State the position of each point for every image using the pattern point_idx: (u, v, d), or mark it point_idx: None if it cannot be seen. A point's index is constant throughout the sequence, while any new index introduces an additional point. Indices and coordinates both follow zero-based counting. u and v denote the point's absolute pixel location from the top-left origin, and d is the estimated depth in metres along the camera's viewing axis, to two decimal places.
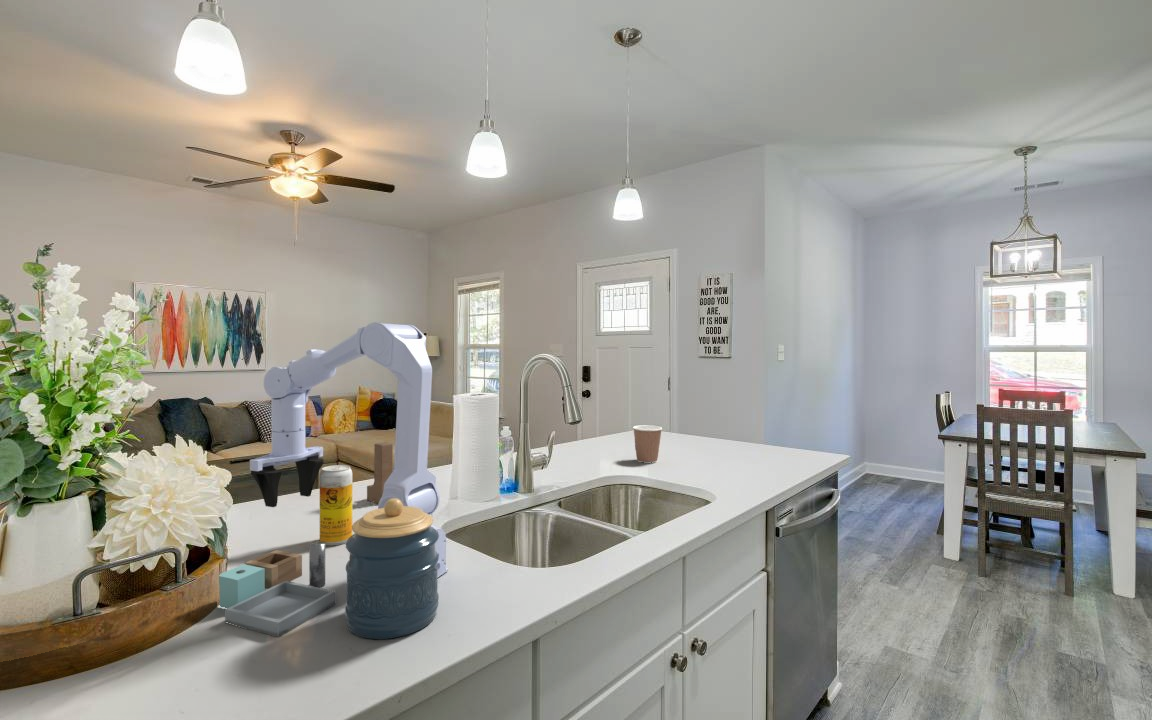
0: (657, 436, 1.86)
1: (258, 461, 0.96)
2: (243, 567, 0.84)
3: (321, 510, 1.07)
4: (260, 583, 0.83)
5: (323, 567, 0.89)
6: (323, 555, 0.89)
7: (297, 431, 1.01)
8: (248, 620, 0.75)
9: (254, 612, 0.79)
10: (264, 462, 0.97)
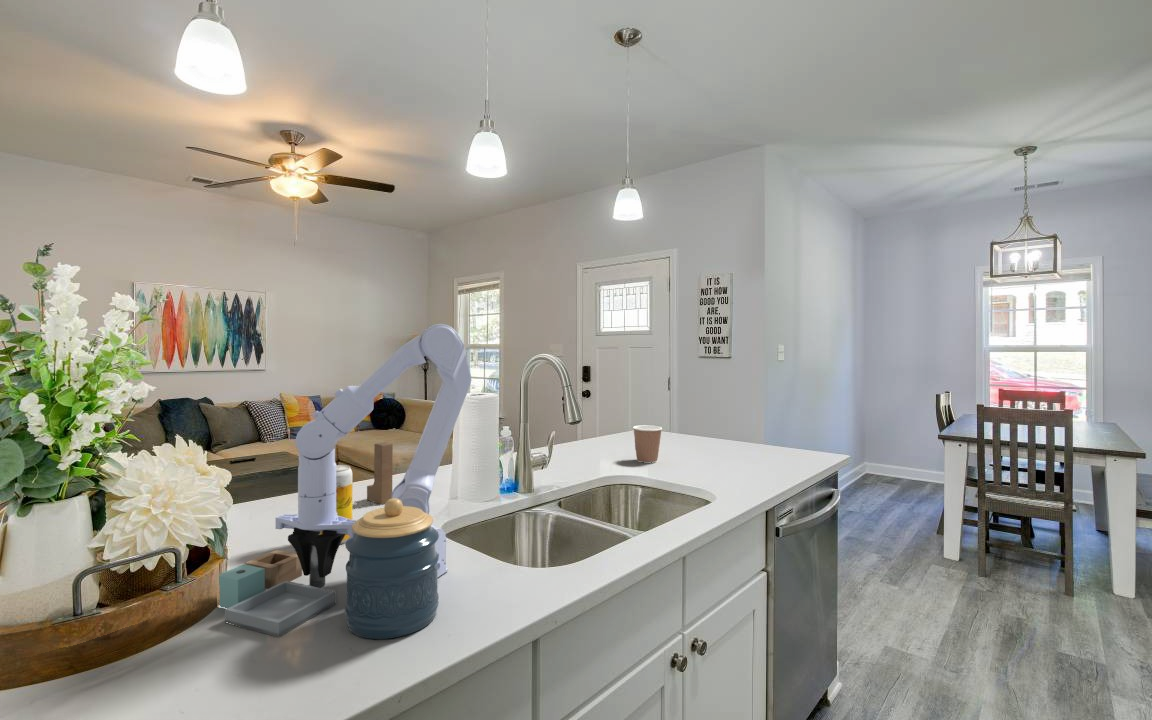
0: (657, 436, 1.86)
1: (276, 518, 0.90)
2: (243, 567, 0.84)
3: None
4: (260, 582, 0.83)
5: None
6: None
7: (303, 497, 0.86)
8: (248, 620, 0.75)
9: (254, 612, 0.79)
10: (281, 521, 0.89)
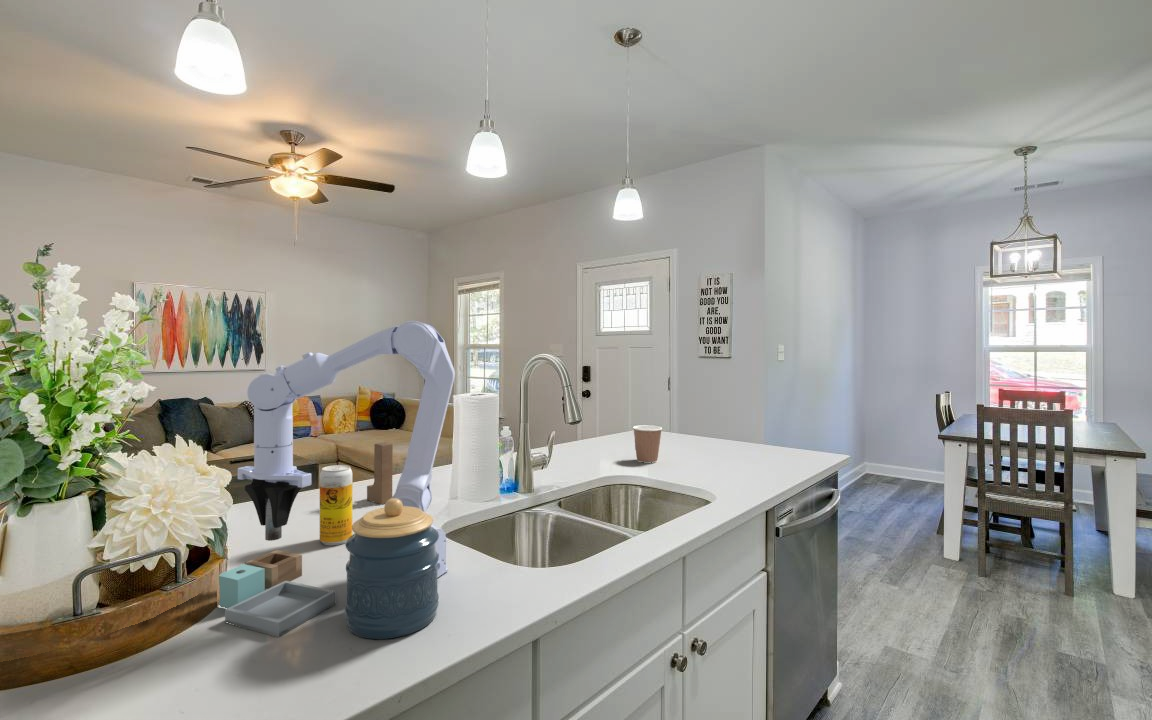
0: (657, 436, 1.86)
1: (238, 469, 0.92)
2: (243, 567, 0.84)
3: (321, 510, 1.07)
4: (260, 582, 0.83)
5: None
6: None
7: (256, 447, 0.88)
8: (248, 620, 0.75)
9: (254, 612, 0.79)
10: (242, 472, 0.92)
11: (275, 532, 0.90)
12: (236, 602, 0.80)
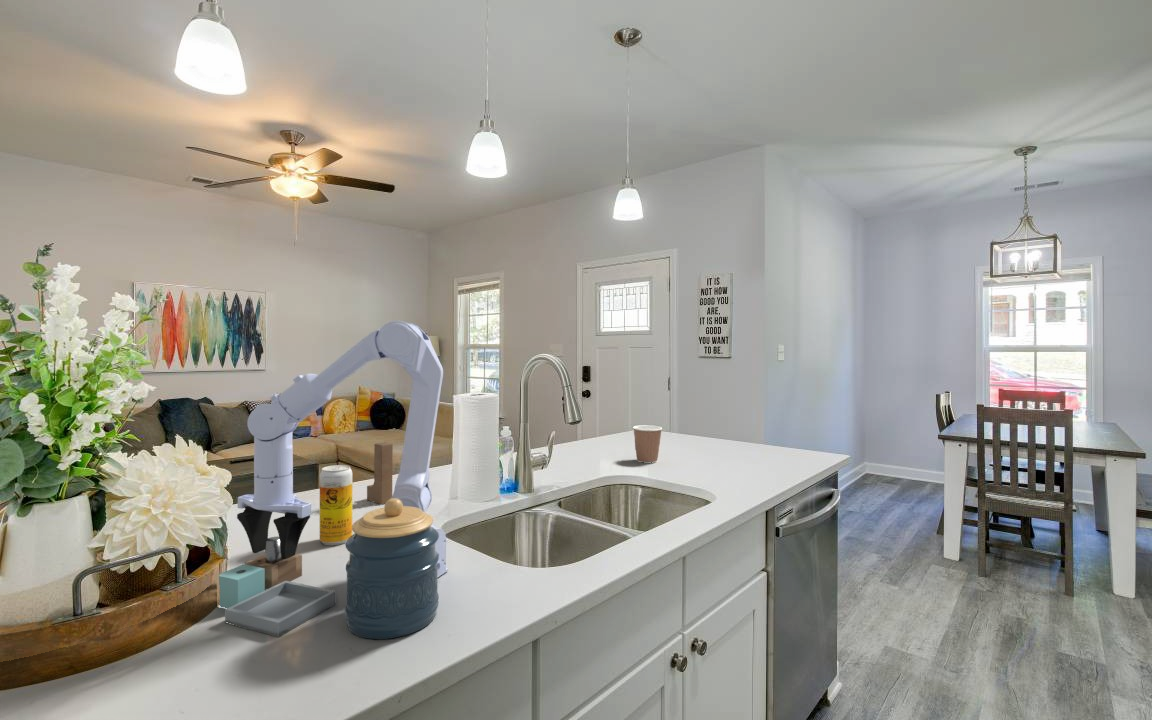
0: (657, 436, 1.86)
1: (238, 498, 0.92)
2: (243, 567, 0.84)
3: (321, 510, 1.07)
4: (260, 582, 0.83)
5: None
6: (278, 550, 0.91)
7: (256, 477, 0.88)
8: (248, 620, 0.75)
9: (254, 612, 0.79)
10: (242, 501, 0.92)
11: None
12: (236, 602, 0.80)
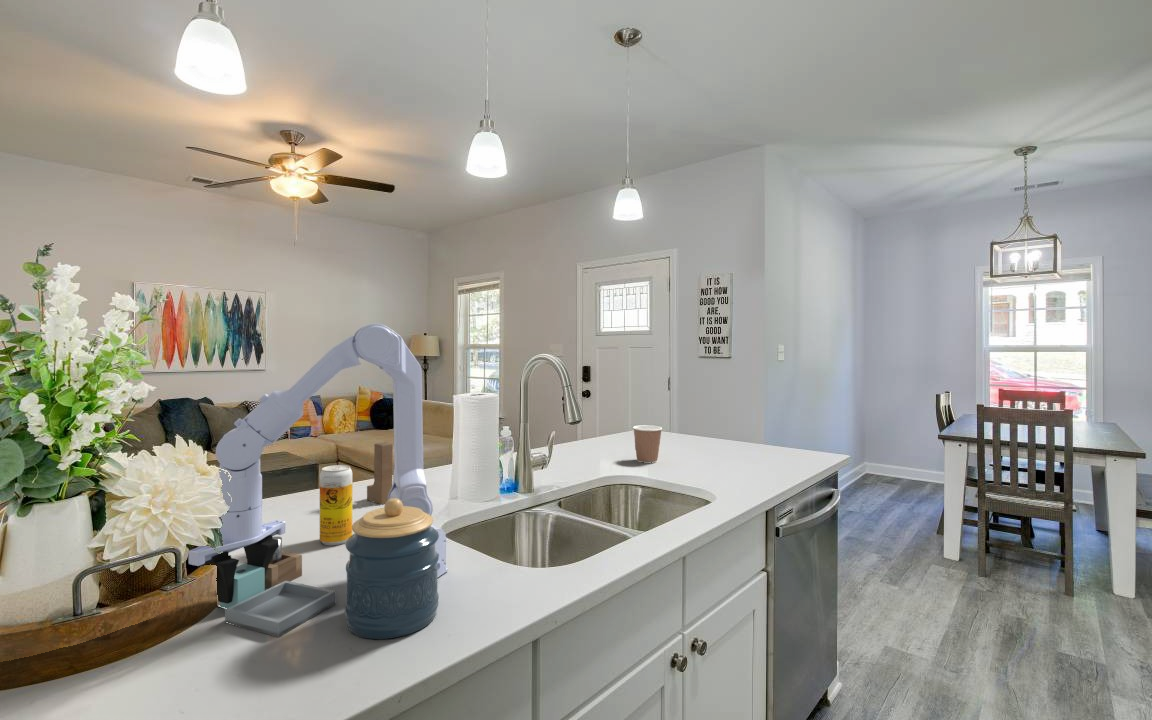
0: (657, 436, 1.86)
1: (199, 553, 0.76)
2: (243, 567, 0.84)
3: (321, 510, 1.07)
4: (260, 582, 0.83)
5: None
6: (278, 550, 0.91)
7: (251, 509, 0.81)
8: (248, 620, 0.75)
9: (254, 612, 0.79)
10: (207, 553, 0.77)
11: None
12: (236, 601, 0.80)
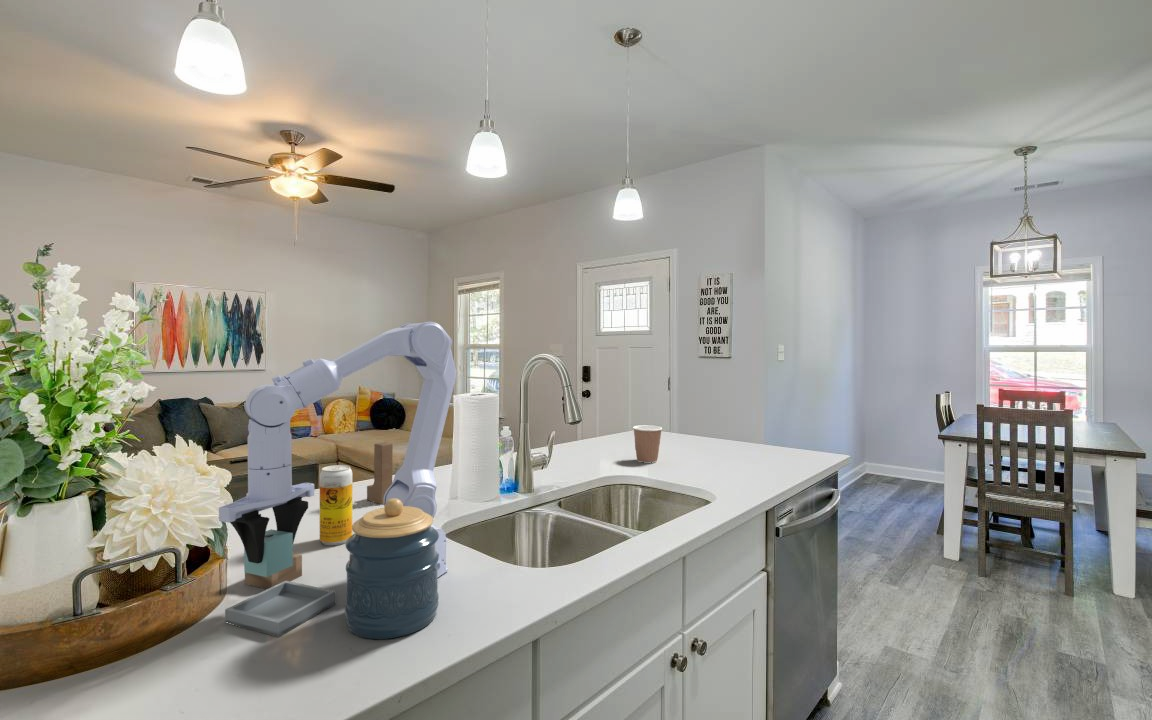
0: (657, 436, 1.86)
1: (230, 509, 0.74)
2: (271, 532, 0.82)
3: (321, 510, 1.07)
4: (288, 547, 0.81)
5: None
6: None
7: (281, 467, 0.79)
8: (248, 620, 0.75)
9: (254, 612, 0.79)
10: (238, 510, 0.75)
11: None
12: (265, 566, 0.78)
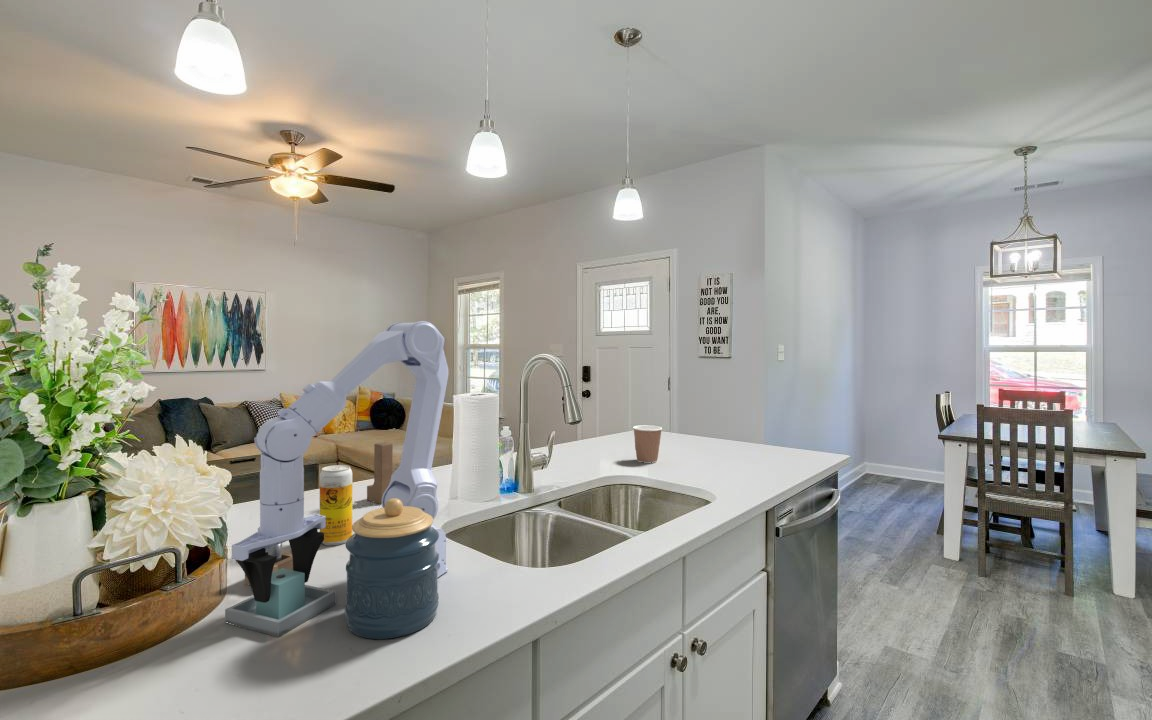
0: (657, 436, 1.86)
1: (243, 547, 0.73)
2: (283, 571, 0.82)
3: (321, 510, 1.07)
4: (300, 587, 0.81)
5: None
6: (278, 550, 0.91)
7: (294, 502, 0.78)
8: (248, 620, 0.75)
9: (254, 612, 0.79)
10: (251, 547, 0.74)
11: None
12: (277, 608, 0.77)
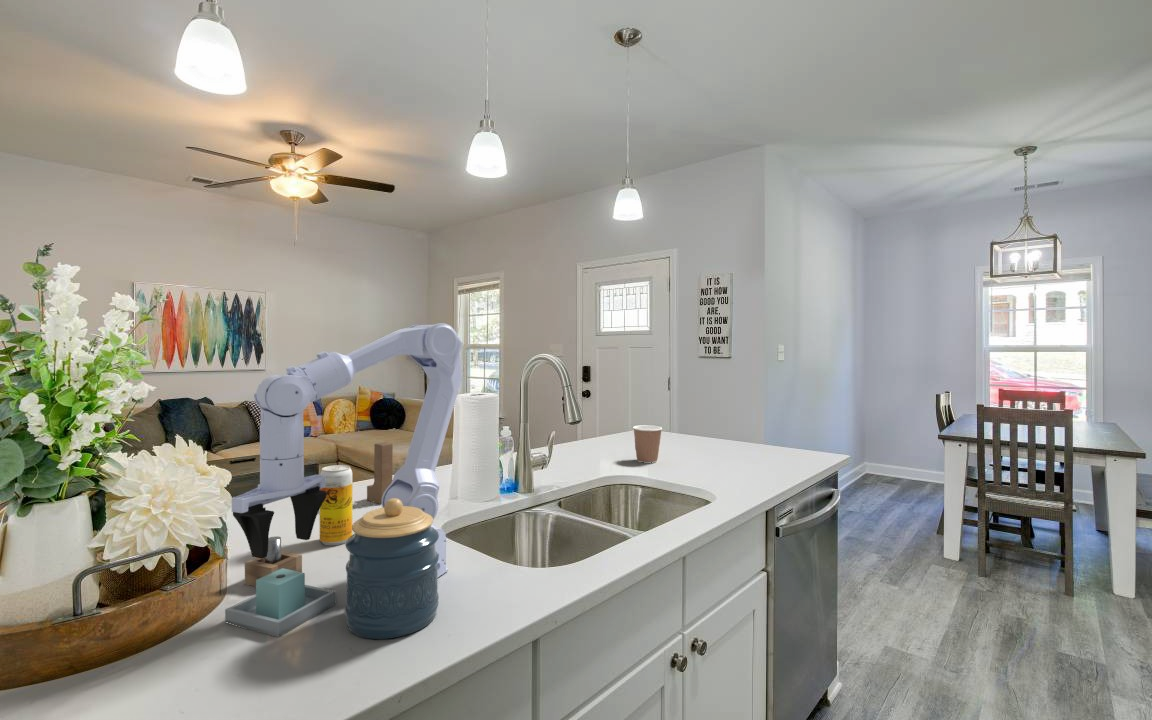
0: (657, 436, 1.86)
1: (243, 500, 0.73)
2: (283, 571, 0.82)
3: (321, 510, 1.07)
4: (300, 587, 0.81)
5: None
6: (277, 550, 0.91)
7: (294, 458, 0.78)
8: (248, 620, 0.75)
9: (254, 612, 0.79)
10: (251, 501, 0.74)
11: None
12: (277, 608, 0.77)
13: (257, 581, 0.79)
